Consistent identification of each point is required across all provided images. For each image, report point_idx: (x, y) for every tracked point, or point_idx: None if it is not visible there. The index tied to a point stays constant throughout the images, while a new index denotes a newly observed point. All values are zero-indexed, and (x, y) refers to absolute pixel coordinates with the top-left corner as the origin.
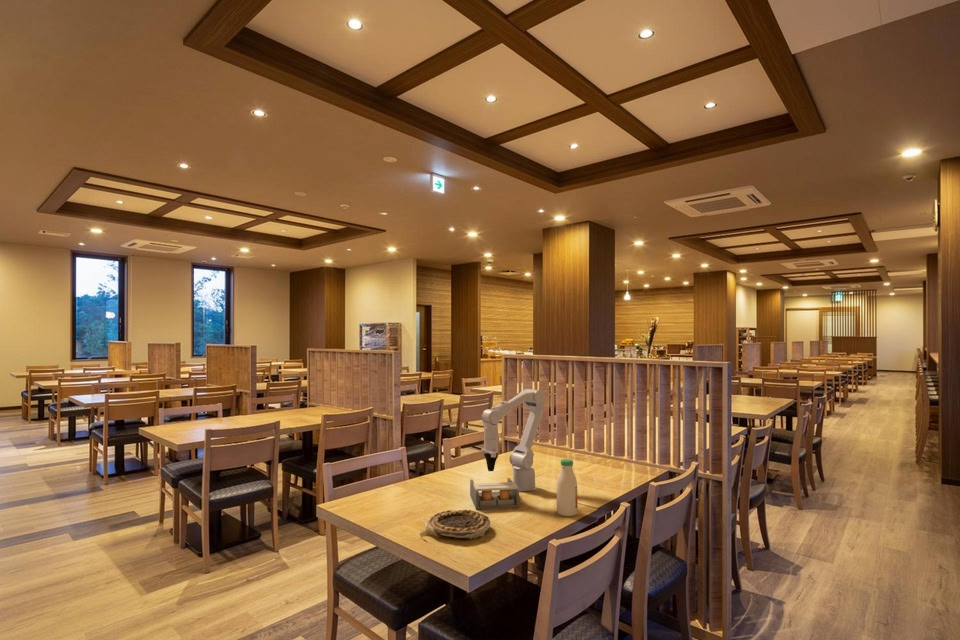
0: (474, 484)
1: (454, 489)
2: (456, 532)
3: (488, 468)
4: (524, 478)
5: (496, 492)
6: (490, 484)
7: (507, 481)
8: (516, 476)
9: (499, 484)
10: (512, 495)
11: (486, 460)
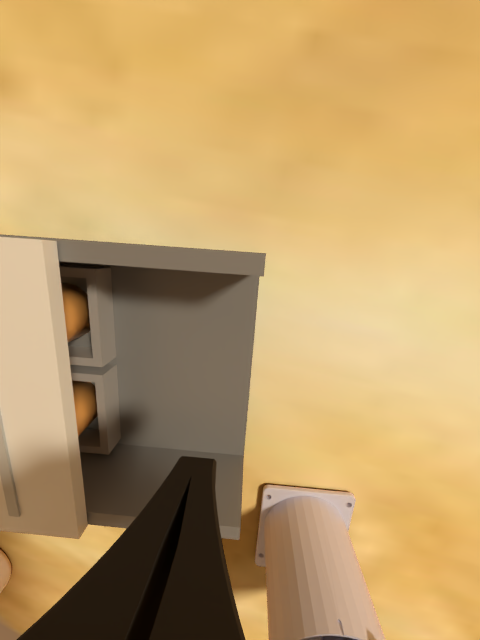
0: (16, 245)
1: (415, 171)
2: None
3: (164, 481)
4: (267, 598)
5: (235, 402)
6: (17, 379)
7: (234, 505)
8: (289, 579)
9: (20, 440)
10: (108, 457)
11: (137, 600)
